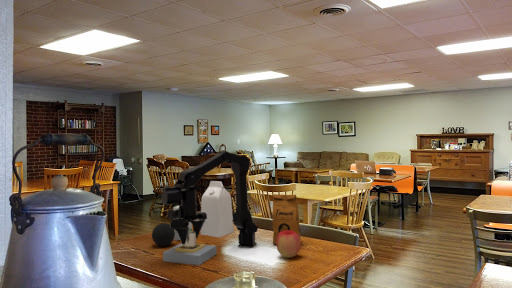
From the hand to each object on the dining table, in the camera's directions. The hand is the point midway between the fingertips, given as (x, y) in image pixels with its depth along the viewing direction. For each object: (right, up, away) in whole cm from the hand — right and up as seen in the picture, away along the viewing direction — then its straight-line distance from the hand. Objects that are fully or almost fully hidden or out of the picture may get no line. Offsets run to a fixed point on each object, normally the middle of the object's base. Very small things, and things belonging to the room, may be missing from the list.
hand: (189, 241), depth 151 cm
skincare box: (-8, -7, +30) cm, 32 cm away
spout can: (-1, -6, +1) cm, 6 cm away
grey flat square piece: (0, -7, 0) cm, 7 cm away
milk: (+7, -6, +39) cm, 40 cm away
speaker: (-15, -7, +19) cm, 25 cm away
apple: (+39, -6, -2) cm, 40 cm away
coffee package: (+40, -6, +17) cm, 44 cm away
